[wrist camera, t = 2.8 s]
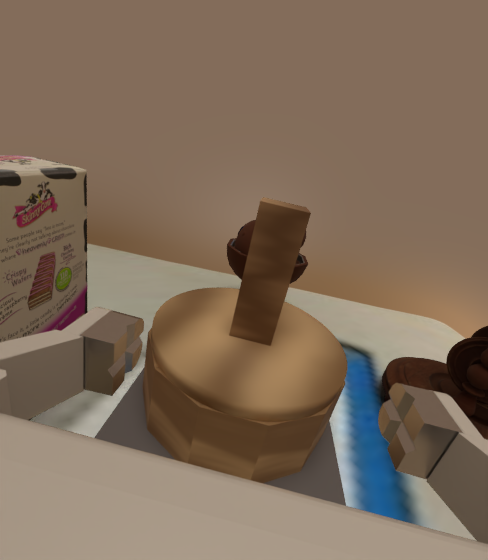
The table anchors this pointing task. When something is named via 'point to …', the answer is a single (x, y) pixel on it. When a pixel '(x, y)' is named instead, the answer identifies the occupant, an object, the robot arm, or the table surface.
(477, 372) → the turned wooden statuette
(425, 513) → the table surface
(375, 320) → the table surface
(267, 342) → the oak lid
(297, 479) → the mat
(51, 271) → the candy bar box
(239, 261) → the ice cream bowl
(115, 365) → the robot arm
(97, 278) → the table surface
